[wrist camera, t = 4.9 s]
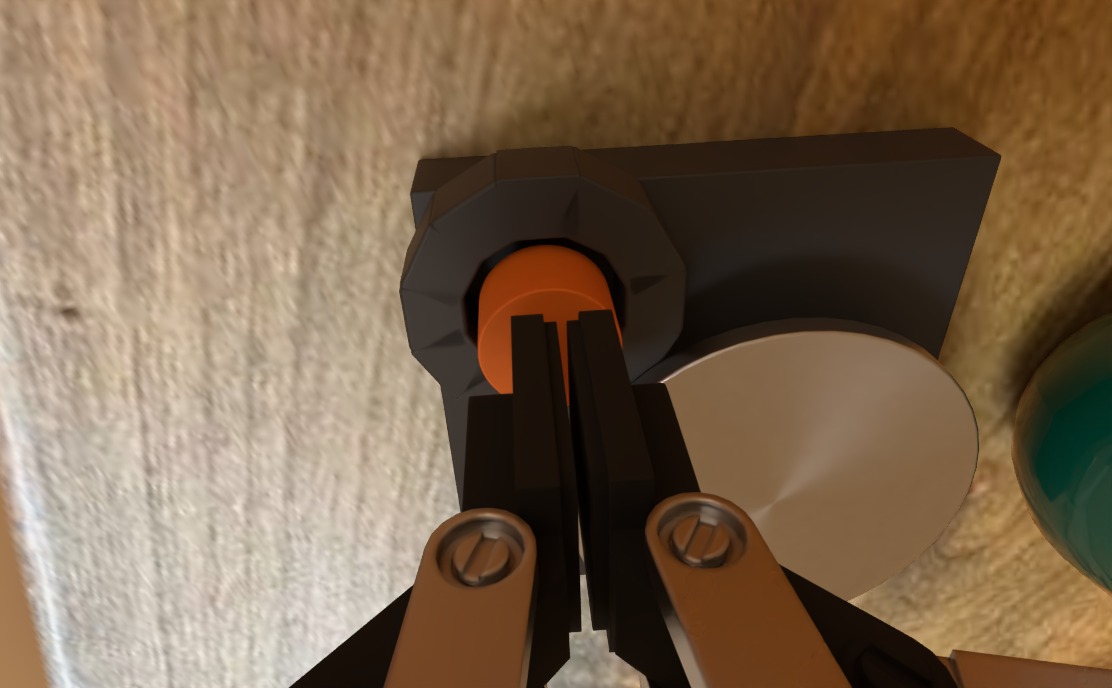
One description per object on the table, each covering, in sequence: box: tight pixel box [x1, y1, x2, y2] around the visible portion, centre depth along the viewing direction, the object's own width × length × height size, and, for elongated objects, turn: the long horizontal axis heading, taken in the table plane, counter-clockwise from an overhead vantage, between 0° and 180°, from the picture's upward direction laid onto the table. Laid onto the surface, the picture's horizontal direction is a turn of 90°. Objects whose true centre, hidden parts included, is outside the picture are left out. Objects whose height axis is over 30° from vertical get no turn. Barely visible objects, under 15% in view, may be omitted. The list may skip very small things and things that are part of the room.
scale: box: [399, 127, 1001, 575], centre depth 18 cm, size 12×13×4 cm
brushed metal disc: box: [578, 317, 979, 601], centre depth 17 cm, size 9×9×1 cm
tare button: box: [478, 245, 622, 406], centre depth 14 cm, size 3×3×2 cm
